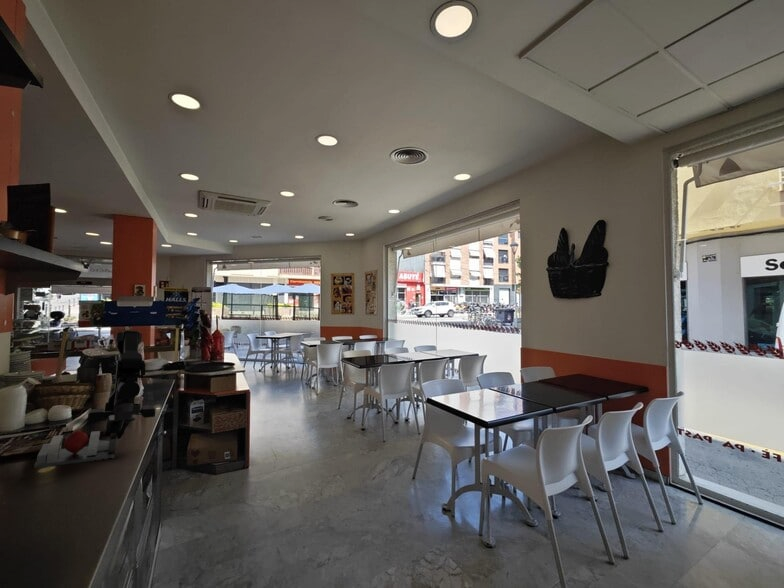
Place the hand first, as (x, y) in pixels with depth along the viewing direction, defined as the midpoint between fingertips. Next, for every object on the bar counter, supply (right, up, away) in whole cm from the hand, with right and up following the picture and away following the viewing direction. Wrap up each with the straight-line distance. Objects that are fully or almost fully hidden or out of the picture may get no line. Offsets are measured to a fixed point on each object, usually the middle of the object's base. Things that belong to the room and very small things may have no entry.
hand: (118, 438), depth 122 cm
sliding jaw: (-4, -3, -3) cm, 5 cm away
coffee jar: (-30, -5, +37) cm, 48 cm away
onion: (-9, -2, -7) cm, 12 cm away
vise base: (-8, -3, -7) cm, 11 cm away
